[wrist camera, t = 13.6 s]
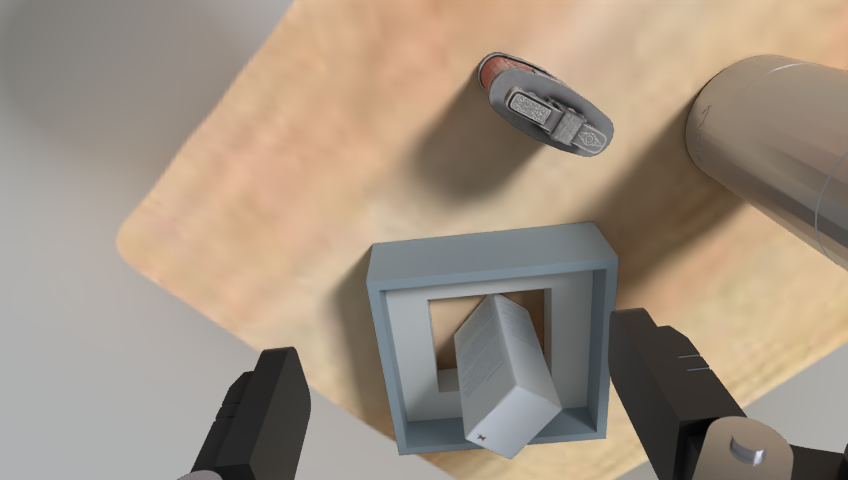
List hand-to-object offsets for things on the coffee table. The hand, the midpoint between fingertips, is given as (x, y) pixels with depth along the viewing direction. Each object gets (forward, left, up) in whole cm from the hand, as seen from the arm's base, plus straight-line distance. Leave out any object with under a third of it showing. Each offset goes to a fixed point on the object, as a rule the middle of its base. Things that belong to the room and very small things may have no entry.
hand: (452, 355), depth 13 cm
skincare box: (-3, +19, -27) cm, 34 cm away
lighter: (-7, -1, -27) cm, 28 cm away
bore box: (-3, +19, -27) cm, 33 cm away
